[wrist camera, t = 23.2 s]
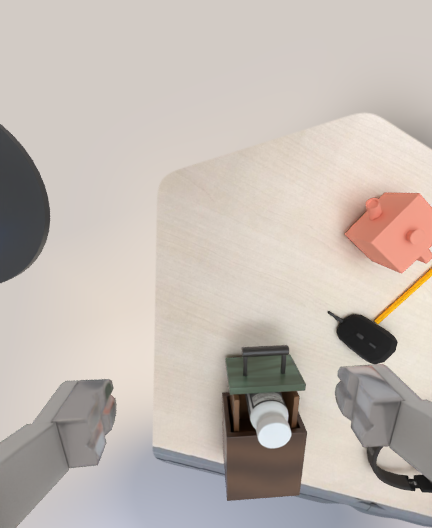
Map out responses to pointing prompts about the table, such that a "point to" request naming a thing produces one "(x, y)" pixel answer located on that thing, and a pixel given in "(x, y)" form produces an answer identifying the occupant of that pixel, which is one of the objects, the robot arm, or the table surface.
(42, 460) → the robot arm
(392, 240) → the pink cube teapot
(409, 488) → the headphones
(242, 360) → the drawer
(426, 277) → the pencil
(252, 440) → the cabinet
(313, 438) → the table surface
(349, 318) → the gaming mouse
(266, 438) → the pill bottle
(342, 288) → the table surface
